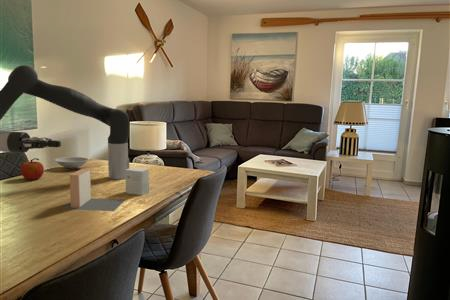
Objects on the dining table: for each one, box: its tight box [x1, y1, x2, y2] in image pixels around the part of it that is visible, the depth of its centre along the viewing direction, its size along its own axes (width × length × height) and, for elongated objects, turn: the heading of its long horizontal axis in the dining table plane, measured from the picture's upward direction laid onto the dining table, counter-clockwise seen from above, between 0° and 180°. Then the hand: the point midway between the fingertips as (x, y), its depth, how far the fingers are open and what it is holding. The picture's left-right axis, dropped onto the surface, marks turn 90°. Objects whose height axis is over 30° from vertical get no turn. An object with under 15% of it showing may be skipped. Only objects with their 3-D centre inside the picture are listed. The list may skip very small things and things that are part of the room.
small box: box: [125, 167, 150, 196], centre depth 144 cm, size 8×6×10 cm
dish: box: [54, 156, 90, 170], centre depth 187 cm, size 18×14×5 cm
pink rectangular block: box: [69, 168, 92, 208], centre depth 128 cm, size 3×10×12 cm, turn 178°
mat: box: [61, 197, 126, 212], centre depth 128 cm, size 18×13×1 cm
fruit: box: [20, 157, 45, 181], centre depth 163 cm, size 10×10×10 cm
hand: (59, 144), depth 125 cm, fingers closed
